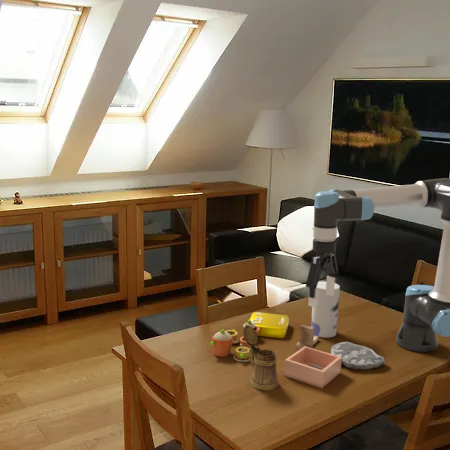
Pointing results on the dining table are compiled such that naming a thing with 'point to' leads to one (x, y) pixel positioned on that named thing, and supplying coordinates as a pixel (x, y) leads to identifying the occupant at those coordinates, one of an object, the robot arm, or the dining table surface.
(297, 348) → the beige wooden plank
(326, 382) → the pink open box
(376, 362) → the brain slice
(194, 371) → the dining table surface
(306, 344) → the tall beige block
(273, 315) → the element tile
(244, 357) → the toy tea set
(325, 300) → the container
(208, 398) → the dining table surface
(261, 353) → the wooden mug
